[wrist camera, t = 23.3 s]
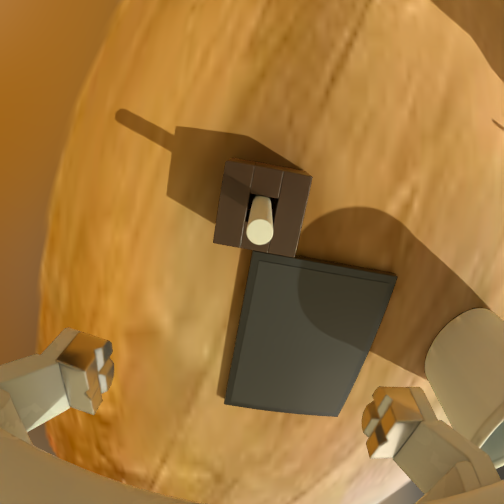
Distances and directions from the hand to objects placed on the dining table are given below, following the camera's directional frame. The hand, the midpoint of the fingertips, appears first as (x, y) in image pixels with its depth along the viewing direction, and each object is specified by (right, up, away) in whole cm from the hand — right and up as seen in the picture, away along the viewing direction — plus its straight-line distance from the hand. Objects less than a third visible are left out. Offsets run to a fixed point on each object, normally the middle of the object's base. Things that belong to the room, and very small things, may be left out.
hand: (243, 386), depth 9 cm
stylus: (+1, +9, +23) cm, 25 cm away
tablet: (+6, -7, +28) cm, 30 cm away
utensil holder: (+30, -10, +28) cm, 43 cm away
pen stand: (+1, +9, +23) cm, 25 cm away
